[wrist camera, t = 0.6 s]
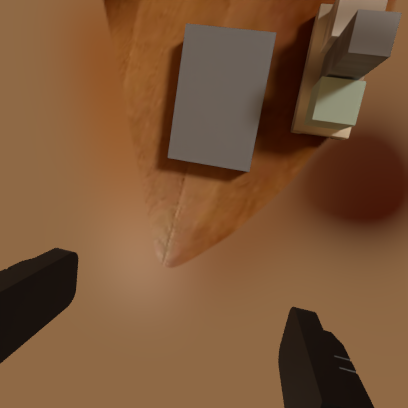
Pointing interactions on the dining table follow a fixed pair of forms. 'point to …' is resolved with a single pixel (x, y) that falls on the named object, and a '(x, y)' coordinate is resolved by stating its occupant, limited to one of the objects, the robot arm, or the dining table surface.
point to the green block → (334, 103)
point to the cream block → (345, 17)
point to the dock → (220, 95)
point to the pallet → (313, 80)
